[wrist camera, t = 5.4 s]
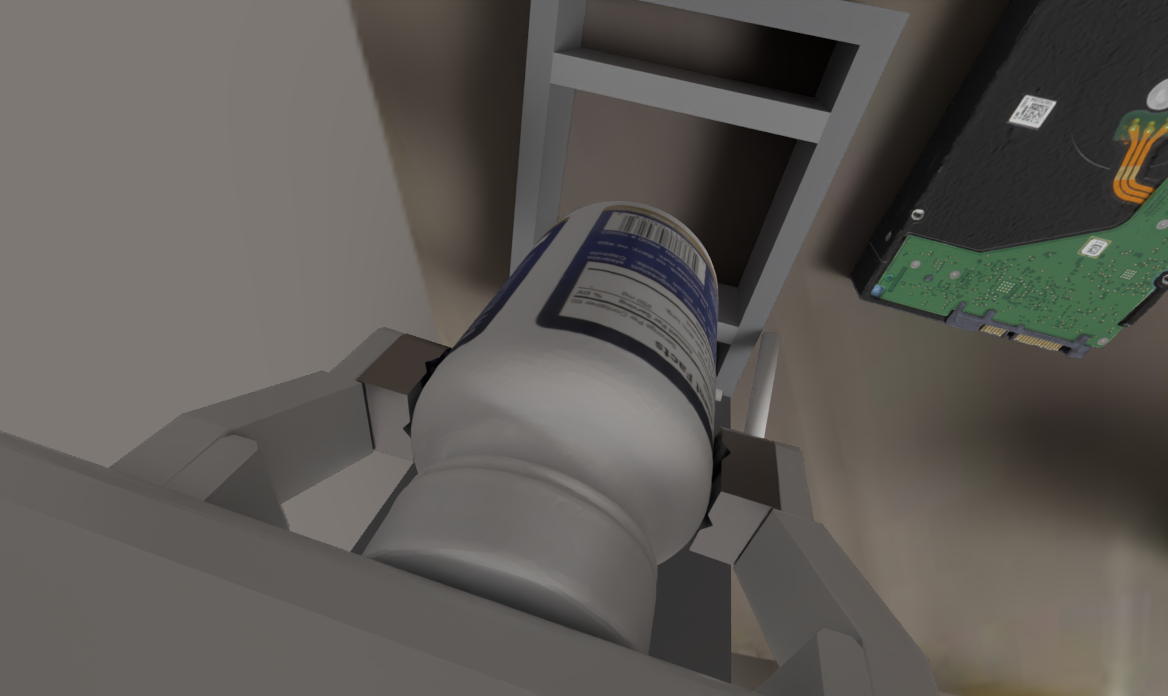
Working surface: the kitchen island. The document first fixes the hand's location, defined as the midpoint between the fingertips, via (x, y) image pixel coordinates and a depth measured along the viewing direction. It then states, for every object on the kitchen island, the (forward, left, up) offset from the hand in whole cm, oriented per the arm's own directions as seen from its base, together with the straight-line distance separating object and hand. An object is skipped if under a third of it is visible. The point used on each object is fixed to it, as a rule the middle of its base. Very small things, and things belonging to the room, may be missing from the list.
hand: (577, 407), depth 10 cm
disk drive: (-5, +15, -17) cm, 23 cm away
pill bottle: (0, 0, -5) cm, 5 cm away
